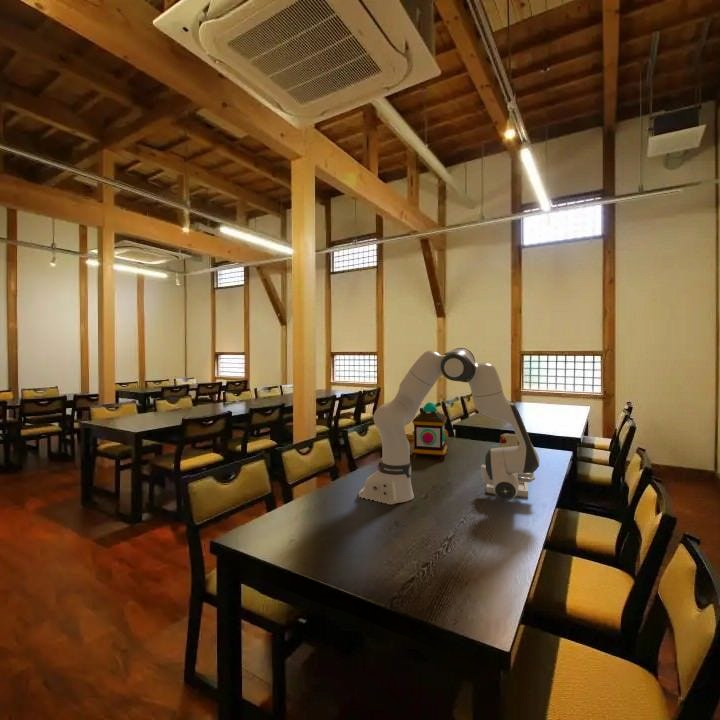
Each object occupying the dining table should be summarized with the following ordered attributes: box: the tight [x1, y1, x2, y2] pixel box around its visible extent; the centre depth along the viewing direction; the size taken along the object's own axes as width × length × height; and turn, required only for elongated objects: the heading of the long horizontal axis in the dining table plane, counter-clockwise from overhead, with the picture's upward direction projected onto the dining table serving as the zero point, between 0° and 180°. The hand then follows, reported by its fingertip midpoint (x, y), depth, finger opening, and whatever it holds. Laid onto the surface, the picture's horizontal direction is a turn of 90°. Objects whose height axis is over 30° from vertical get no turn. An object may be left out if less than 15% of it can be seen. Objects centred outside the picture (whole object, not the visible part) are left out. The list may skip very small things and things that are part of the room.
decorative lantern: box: [411, 401, 449, 462], centre depth 224 cm, size 20×20×30 cm
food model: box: [499, 432, 520, 448], centre depth 188 cm, size 10×7×20 cm
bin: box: [485, 481, 529, 498], centre depth 172 cm, size 16×16×2 cm
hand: (507, 467), depth 171 cm, fingers open, 8 cm apart
